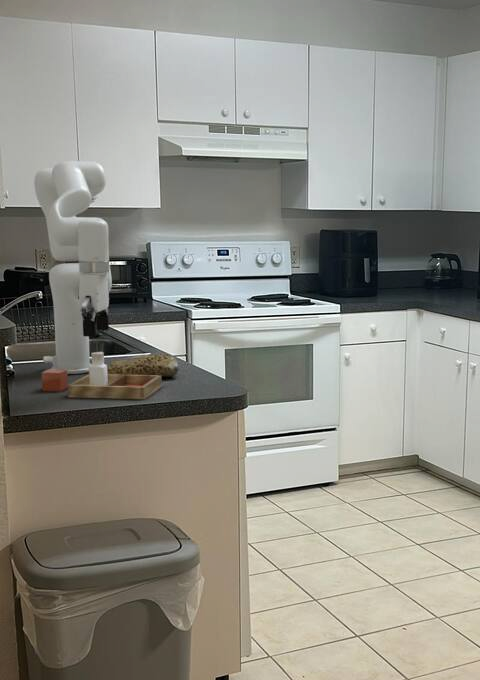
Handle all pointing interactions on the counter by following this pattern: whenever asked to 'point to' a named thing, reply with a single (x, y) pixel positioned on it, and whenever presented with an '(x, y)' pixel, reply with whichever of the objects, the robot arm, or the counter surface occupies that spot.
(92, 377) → the salt shaker
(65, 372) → the clay block
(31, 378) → the counter surface
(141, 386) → the tray
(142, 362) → the sponge
